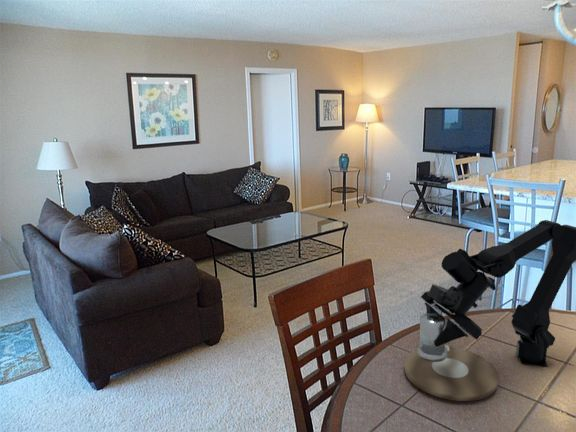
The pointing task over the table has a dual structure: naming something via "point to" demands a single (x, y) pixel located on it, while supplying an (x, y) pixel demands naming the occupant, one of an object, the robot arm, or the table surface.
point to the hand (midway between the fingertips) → (428, 339)
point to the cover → (431, 337)
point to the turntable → (453, 375)
